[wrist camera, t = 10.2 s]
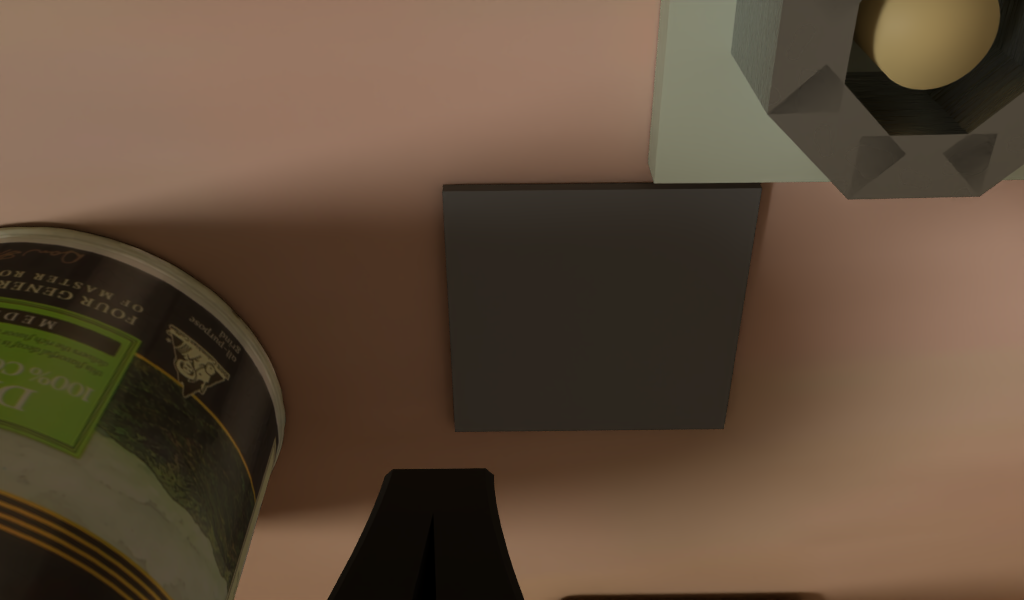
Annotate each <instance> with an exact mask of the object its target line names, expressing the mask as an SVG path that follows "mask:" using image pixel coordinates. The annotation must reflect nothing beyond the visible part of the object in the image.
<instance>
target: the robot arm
mask: <svg viewBox="0 0 1024 600" xmlns="http://www.w3.org/2000/svg"><path fill="white" fill-rule="evenodd" d="M327 600H524V598H523V595H522V592H521V589H520V587H519V584H518V581H517V578H516V575H515V572H514V570H513V566H512V563H511V560H510V557H509V554H508V550H507V547H506V543H505V539H504V535H503V532H502V528H501V524H500V519H499V515H498V510H497V504H496V497H495V489H494V475H493V474H492V473H491V472H489V471H488V470H487V469H486V468H473V469H393V470H392V471H391V472H389V473H388V474H387V475H386V476H385V478H384V481H383V484H382V487H381V490H380V492H379V495H378V497H377V500H376V502H375V505H374V507H373V510H372V512H371V514H370V517H369V519H368V521H367V523H366V526H365V528H364V530H363V532H362V534H361V536H360V538H359V540H358V542H357V544H356V546H355V549H354V551H353V553H352V555H351V557H350V558H349V560H348V562H347V564H346V566H345V568H344V570H343V571H342V573H341V575H340V577H339V579H338V581H337V583H336V585H335V586H334V588H333V590H332V592H331V594H330V596H329V598H328V599H327Z"/></svg>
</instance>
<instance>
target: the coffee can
mask: <svg viewBox="0 0 1024 600" xmlns="http://www.w3.org/2000/svg"><path fill="white" fill-rule="evenodd" d="M285 422H286V418H285V409H284V404H283V398H282V392H281V388H280V384H279V381H278V379H277V376H276V373H275V370H274V368H273V366H272V363H271V361H270V359H269V357H268V355H267V354H266V352H265V350H264V349H263V347H262V346H261V344H260V342H259V341H258V340H257V338H256V337H255V335H254V334H253V332H252V331H251V330H250V328H249V327H248V326H247V325H246V324H245V323H244V322H243V320H242V319H241V318H240V317H239V316H238V315H237V314H236V313H235V312H234V310H233V309H232V308H231V307H230V306H229V305H228V304H227V303H226V302H225V301H224V300H223V299H221V298H220V297H219V296H218V295H217V294H216V293H214V292H213V291H212V290H211V289H209V288H208V287H206V286H205V285H203V284H202V283H200V282H199V281H197V280H196V279H195V278H193V277H192V276H190V275H189V274H187V273H186V272H184V271H182V270H181V269H179V268H177V267H176V266H174V265H172V264H170V263H168V262H166V261H164V260H162V259H160V258H158V257H157V256H154V255H152V254H150V253H148V252H145V251H143V250H141V249H138V248H136V247H133V246H131V245H128V244H125V243H122V242H119V241H116V240H113V239H110V238H106V237H103V236H99V235H94V234H90V233H86V232H81V231H76V230H70V229H63V228H54V227H7V228H0V600H234V597H235V594H236V590H237V587H238V584H239V580H240V577H241V574H242V571H243V567H244V564H245V561H246V557H247V554H248V550H249V547H250V543H251V540H252V536H253V533H254V529H255V525H256V522H257V518H258V515H259V512H260V508H261V505H262V501H263V498H264V494H265V491H266V488H267V484H268V481H269V477H270V474H271V472H272V470H273V468H274V466H275V463H276V461H277V459H278V456H279V453H280V450H281V447H282V442H283V437H284V427H285Z"/></svg>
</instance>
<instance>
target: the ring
mask: <svg viewBox="0 0 1024 600" xmlns="http://www.w3.org/2000/svg"><path fill="white" fill-rule="evenodd" d="M861 1H862V0H737V2H736V11H735V20H734V29H733V38H732V47H731V54H732V56H733V58H734V59H735V61H736V63H737V64H738V66H739V68H740V69H741V71H742V73H743V74H744V76H745V78H746V80H747V81H748V83H749V85H750V86H751V88H752V90H753V91H754V93H755V95H756V96H757V98H758V100H759V101H760V103H761V105H762V106H763V108H764V110H765V112H766V113H767V115H768V116H769V117H770V118H771V119H772V120H773V121H774V122H775V123H776V124H777V125H778V126H779V127H780V128H781V129H782V130H783V132H784V133H785V134H786V135H787V136H788V137H789V138H790V139H791V140H792V141H793V142H794V143H795V144H796V145H797V146H798V147H799V148H800V149H801V151H802V152H803V153H804V154H805V155H806V156H807V157H808V158H809V159H810V160H811V161H812V162H813V163H814V164H815V165H816V166H817V167H818V168H819V170H820V171H821V172H822V173H823V174H824V175H825V176H826V177H827V178H828V179H829V180H830V181H831V182H832V183H833V184H834V185H835V186H836V187H837V189H838V190H839V191H840V192H841V193H842V194H843V195H844V196H845V197H846V198H847V199H890V198H935V197H979V196H981V195H982V194H984V193H985V192H986V191H988V190H989V189H991V188H992V187H993V186H995V185H996V184H997V183H999V182H1000V181H1002V180H1003V179H1004V178H1006V177H1007V176H1008V175H1010V174H1011V173H1013V172H1014V171H1015V170H1017V169H1018V168H1019V167H1021V166H1022V165H1024V0H998V3H999V7H1000V21H999V27H998V31H997V34H996V37H995V40H994V42H993V44H992V46H991V48H990V49H989V51H988V52H987V54H986V55H985V56H984V58H983V59H982V60H981V61H980V62H979V64H978V65H977V66H976V67H975V68H973V69H972V70H971V71H970V72H969V73H967V74H966V75H964V76H963V77H962V78H960V79H958V80H956V81H954V82H952V83H950V84H948V85H945V86H942V87H939V88H934V89H926V90H918V89H911V88H906V87H903V86H901V85H899V84H897V83H895V82H894V81H892V80H891V79H890V78H889V77H888V76H887V75H886V74H885V73H884V72H883V71H879V72H847V67H848V62H849V57H850V51H851V46H852V40H853V35H854V30H855V24H856V19H857V13H858V8H859V3H860V2H861Z"/></svg>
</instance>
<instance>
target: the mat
mask: <svg viewBox="0 0 1024 600" xmlns="http://www.w3.org/2000/svg"><path fill="white" fill-rule="evenodd" d="M761 191H762V187H761V185H760V183H759V182H750V183H611V184H510V185H443V190H442V194H443V213H444V232H445V251H446V270H447V288H448V307H449V326H450V345H451V364H452V383H453V402H454V421H455V432H487V431H577V430H667V429H724V424H725V418H726V412H727V406H728V399H729V393H730V387H731V380H732V374H733V368H734V361H735V355H736V349H737V343H738V336H739V330H740V324H741V317H742V311H743V305H744V298H745V292H746V286H747V280H748V273H749V267H750V261H751V254H752V248H753V242H754V235H755V229H756V223H757V217H758V210H759V204H760V198H761Z"/></svg>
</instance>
